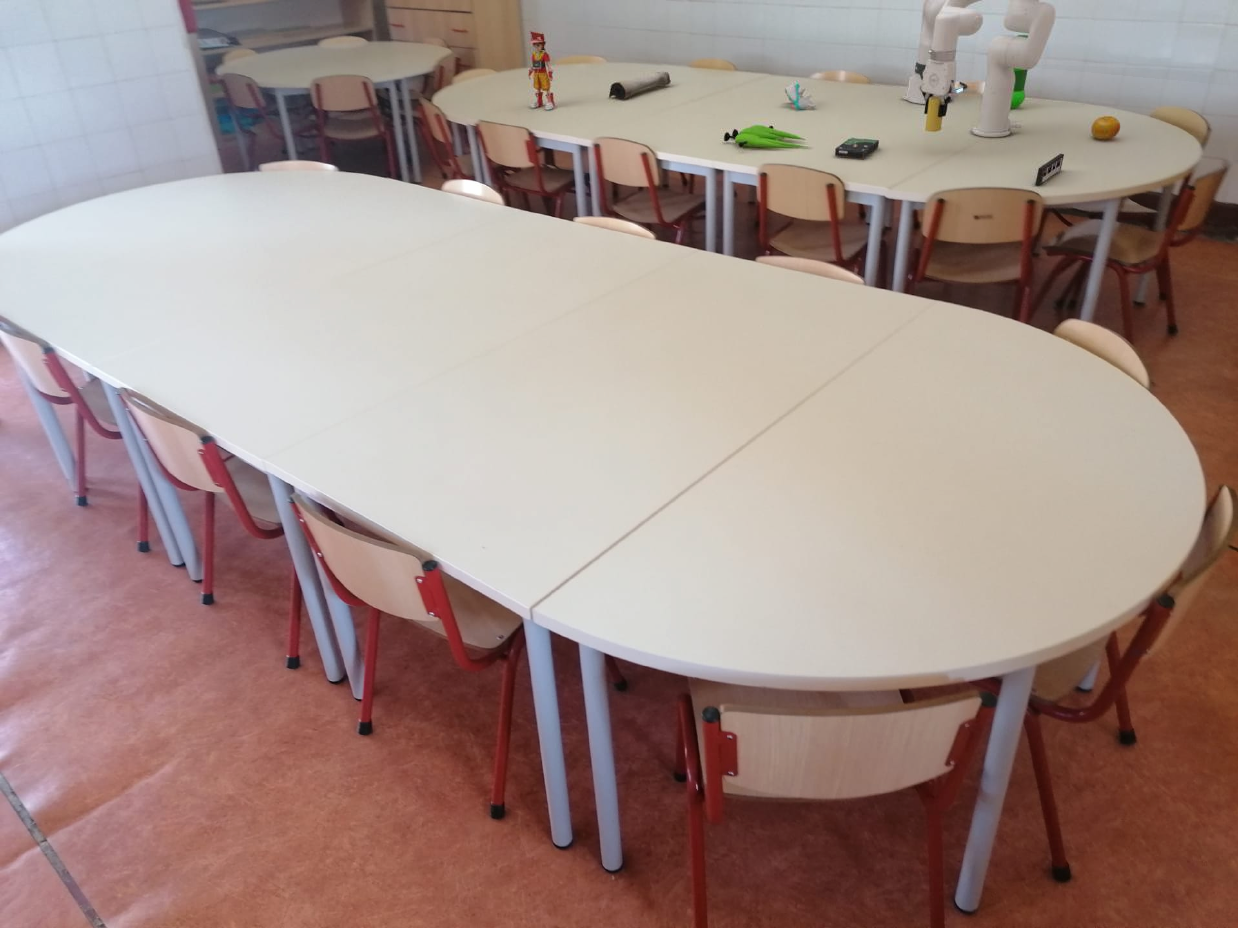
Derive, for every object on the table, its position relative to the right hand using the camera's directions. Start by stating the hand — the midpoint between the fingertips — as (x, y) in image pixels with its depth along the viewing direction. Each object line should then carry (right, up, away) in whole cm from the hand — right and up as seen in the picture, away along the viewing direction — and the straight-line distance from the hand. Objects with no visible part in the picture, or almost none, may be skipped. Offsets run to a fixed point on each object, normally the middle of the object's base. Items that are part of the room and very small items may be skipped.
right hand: (935, 114), depth 295 cm
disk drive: (-23, -9, +11) cm, 27 cm away
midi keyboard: (+27, -28, -21) cm, 44 cm away
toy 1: (-137, +37, +88) cm, 167 cm away
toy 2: (-51, -1, +25) cm, 56 cm away
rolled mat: (-95, +49, +102) cm, 147 cm away
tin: (0, -4, +3) cm, 5 cm away
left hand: (-21, +69, +58) cm, 93 cm away
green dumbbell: (+46, +22, +49) cm, 71 cm away
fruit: (+61, -5, +9) cm, 62 cm away
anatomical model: (-32, +30, +67) cm, 80 cm away
